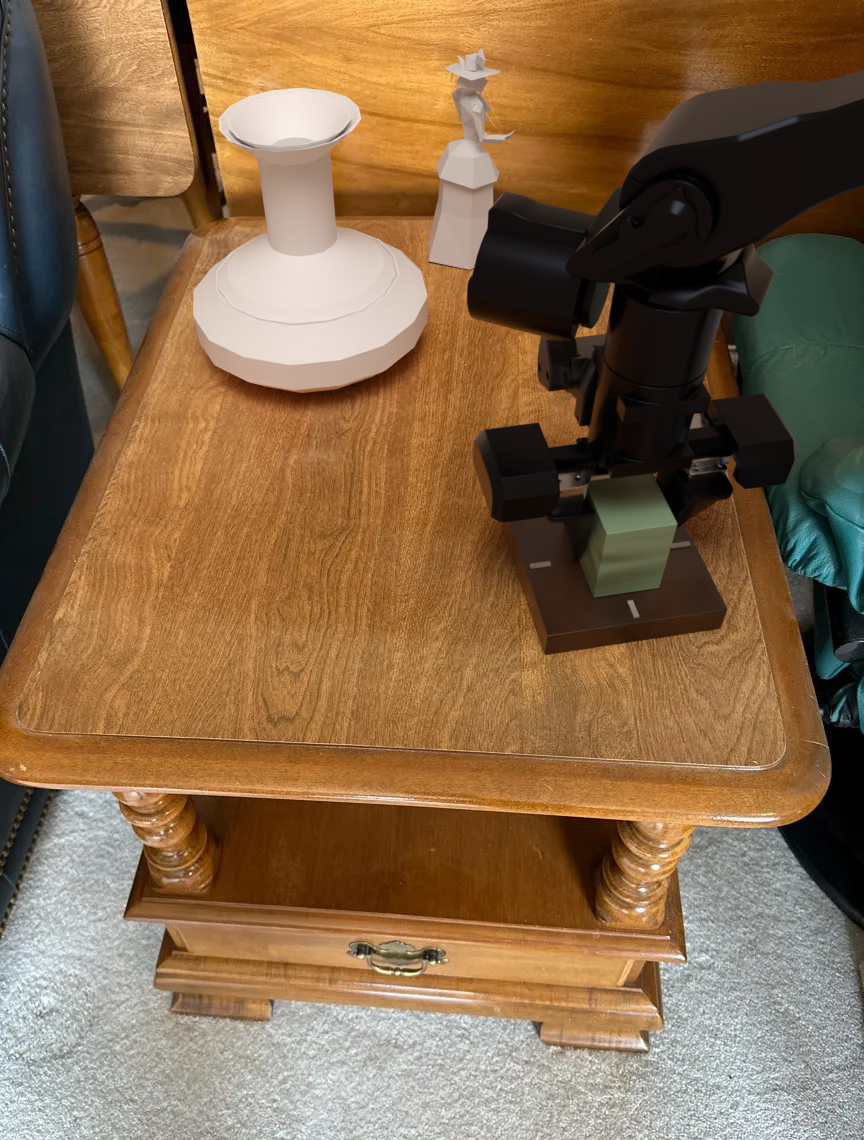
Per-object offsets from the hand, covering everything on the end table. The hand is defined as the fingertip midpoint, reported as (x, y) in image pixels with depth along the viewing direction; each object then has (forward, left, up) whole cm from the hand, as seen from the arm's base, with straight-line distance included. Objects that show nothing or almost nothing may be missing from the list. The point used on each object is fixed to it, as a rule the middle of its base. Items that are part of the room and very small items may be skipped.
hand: (610, 549), depth 65 cm
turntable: (0, 0, -2) cm, 2 cm away
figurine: (+1, -44, -3) cm, 44 cm away
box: (0, 0, 0) cm, 0 cm away
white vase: (+17, -31, -3) cm, 35 cm away
